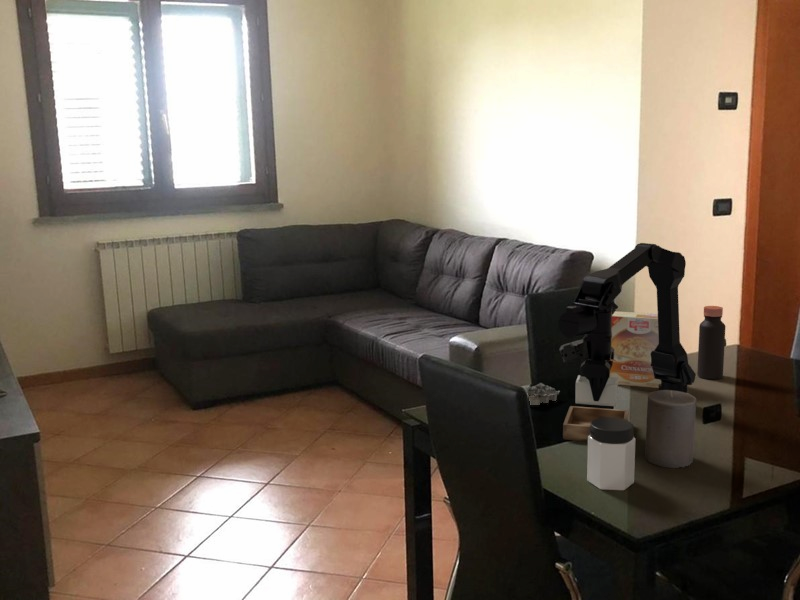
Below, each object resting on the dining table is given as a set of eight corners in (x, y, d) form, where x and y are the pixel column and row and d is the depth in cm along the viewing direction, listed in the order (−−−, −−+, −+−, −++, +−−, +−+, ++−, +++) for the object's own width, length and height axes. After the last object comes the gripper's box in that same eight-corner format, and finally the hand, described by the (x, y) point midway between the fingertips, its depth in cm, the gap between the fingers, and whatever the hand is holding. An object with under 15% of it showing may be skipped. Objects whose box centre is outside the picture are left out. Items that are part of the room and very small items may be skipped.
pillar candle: (635, 458, 168) (637, 390, 165) (662, 446, 173) (665, 381, 170) (675, 472, 160) (679, 401, 157) (703, 460, 166) (707, 391, 163)
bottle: (726, 379, 221) (730, 309, 218) (702, 380, 221) (705, 310, 218) (717, 373, 228) (720, 304, 224) (693, 373, 228) (696, 305, 224)
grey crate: (617, 398, 184) (618, 377, 183) (616, 406, 178) (616, 385, 177) (578, 395, 187) (578, 375, 186) (575, 403, 181) (575, 382, 180)
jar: (601, 469, 162) (602, 413, 160) (639, 479, 157) (641, 421, 155) (580, 484, 155) (581, 426, 153) (619, 495, 150) (621, 434, 148)
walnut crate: (628, 424, 188) (628, 410, 187) (625, 444, 175) (625, 429, 175) (569, 419, 192) (570, 405, 192) (562, 439, 179) (563, 424, 179)
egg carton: (533, 410, 201) (533, 394, 200) (512, 403, 207) (512, 388, 206) (562, 401, 207) (562, 386, 206) (541, 394, 213) (541, 380, 212)
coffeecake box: (609, 384, 220) (610, 315, 216) (612, 377, 226) (614, 310, 223) (665, 389, 214) (668, 318, 211) (668, 382, 221) (670, 313, 217)
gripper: (567, 320, 191) (566, 383, 193) (557, 338, 173) (556, 406, 176) (615, 322, 187) (613, 386, 190) (609, 340, 170) (608, 410, 173)
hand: (597, 396), depth 182 cm, fingers closed on grey crate, 6 cm apart
